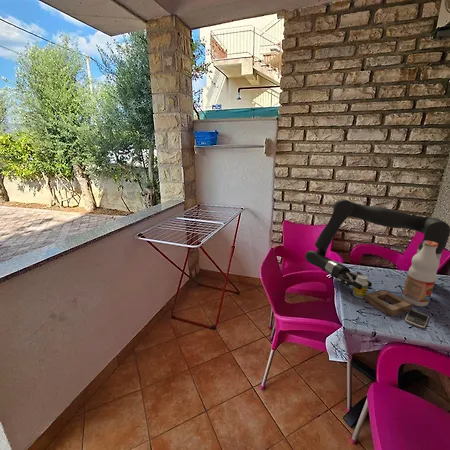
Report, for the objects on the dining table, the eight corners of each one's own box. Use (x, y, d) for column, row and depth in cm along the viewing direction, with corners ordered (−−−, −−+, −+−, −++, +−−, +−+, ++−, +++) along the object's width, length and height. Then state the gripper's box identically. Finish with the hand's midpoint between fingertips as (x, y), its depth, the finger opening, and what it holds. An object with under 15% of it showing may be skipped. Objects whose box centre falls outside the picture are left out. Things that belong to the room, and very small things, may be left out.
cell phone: (403, 322, 95) (404, 319, 94) (409, 311, 102) (410, 308, 101) (423, 331, 90) (424, 327, 90) (428, 318, 98) (429, 315, 97)
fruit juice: (400, 292, 114) (414, 237, 106) (425, 298, 110) (441, 240, 102) (403, 303, 106) (419, 244, 98) (430, 309, 102) (449, 248, 94)
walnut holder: (383, 295, 112) (384, 289, 111) (410, 310, 101) (412, 304, 101) (364, 300, 108) (366, 294, 107) (391, 316, 97) (392, 310, 96)
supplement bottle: (356, 290, 115) (359, 272, 113) (368, 296, 111) (371, 277, 108) (350, 294, 113) (353, 275, 110) (361, 299, 108) (365, 280, 106)
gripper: (326, 265, 119) (355, 281, 104) (348, 261, 124) (379, 276, 109) (324, 279, 121) (353, 297, 106) (346, 274, 126) (376, 290, 111)
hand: (366, 286), depth 108 cm, fingers closed on supplement bottle, 5 cm apart
